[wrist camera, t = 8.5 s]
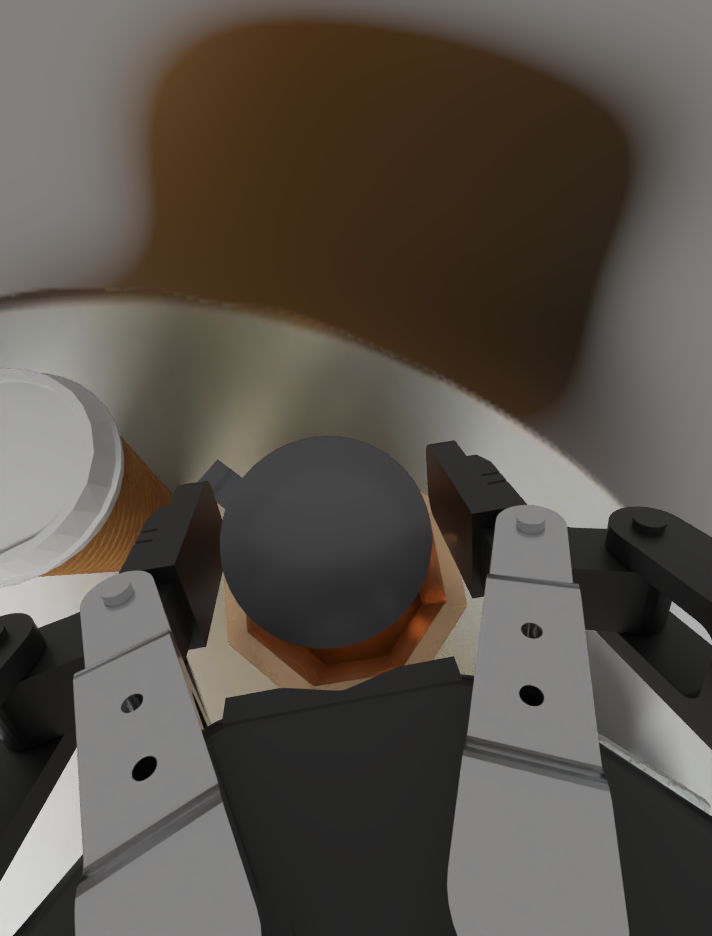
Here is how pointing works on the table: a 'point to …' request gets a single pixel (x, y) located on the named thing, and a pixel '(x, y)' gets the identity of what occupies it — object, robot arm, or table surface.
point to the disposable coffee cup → (66, 481)
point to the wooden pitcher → (354, 664)
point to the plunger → (325, 542)
